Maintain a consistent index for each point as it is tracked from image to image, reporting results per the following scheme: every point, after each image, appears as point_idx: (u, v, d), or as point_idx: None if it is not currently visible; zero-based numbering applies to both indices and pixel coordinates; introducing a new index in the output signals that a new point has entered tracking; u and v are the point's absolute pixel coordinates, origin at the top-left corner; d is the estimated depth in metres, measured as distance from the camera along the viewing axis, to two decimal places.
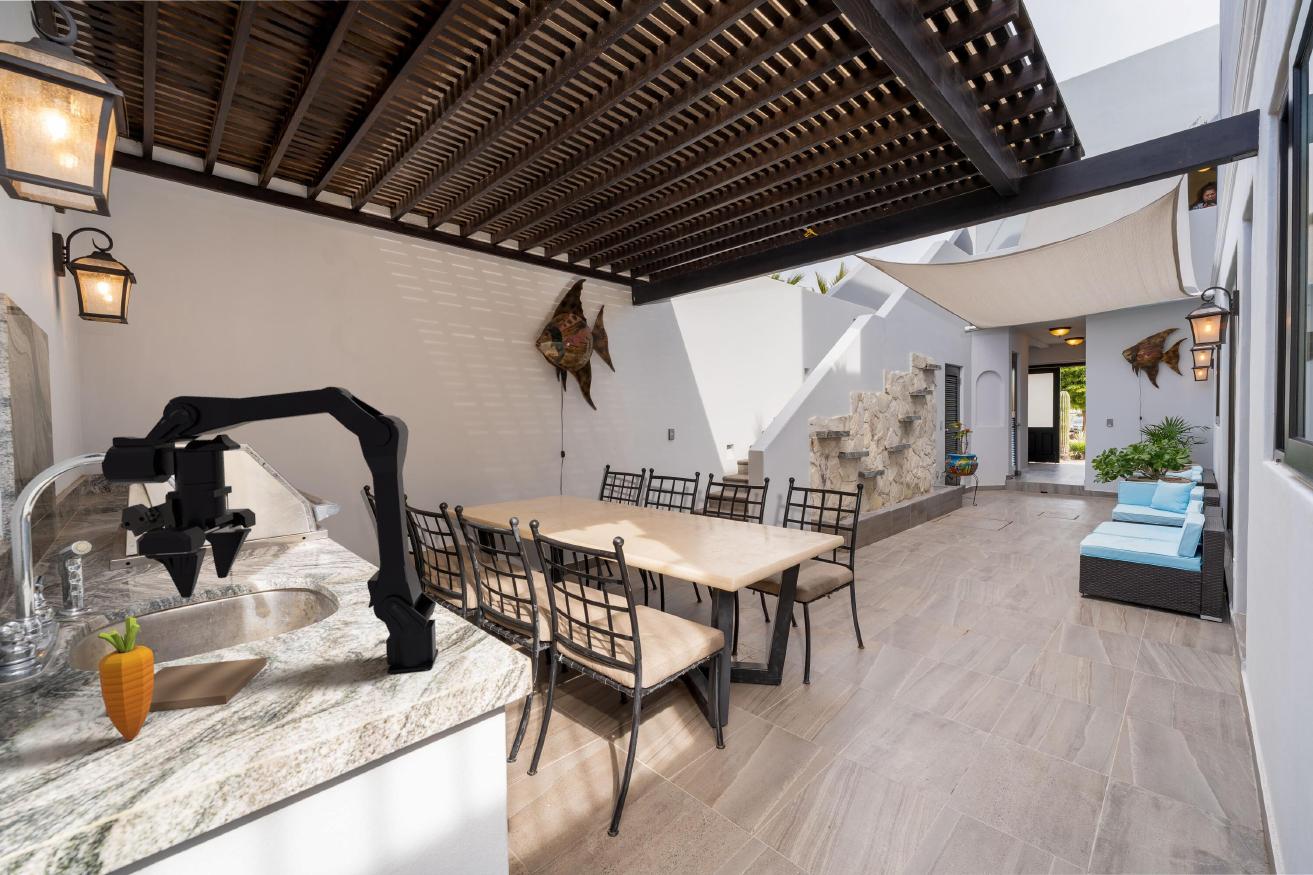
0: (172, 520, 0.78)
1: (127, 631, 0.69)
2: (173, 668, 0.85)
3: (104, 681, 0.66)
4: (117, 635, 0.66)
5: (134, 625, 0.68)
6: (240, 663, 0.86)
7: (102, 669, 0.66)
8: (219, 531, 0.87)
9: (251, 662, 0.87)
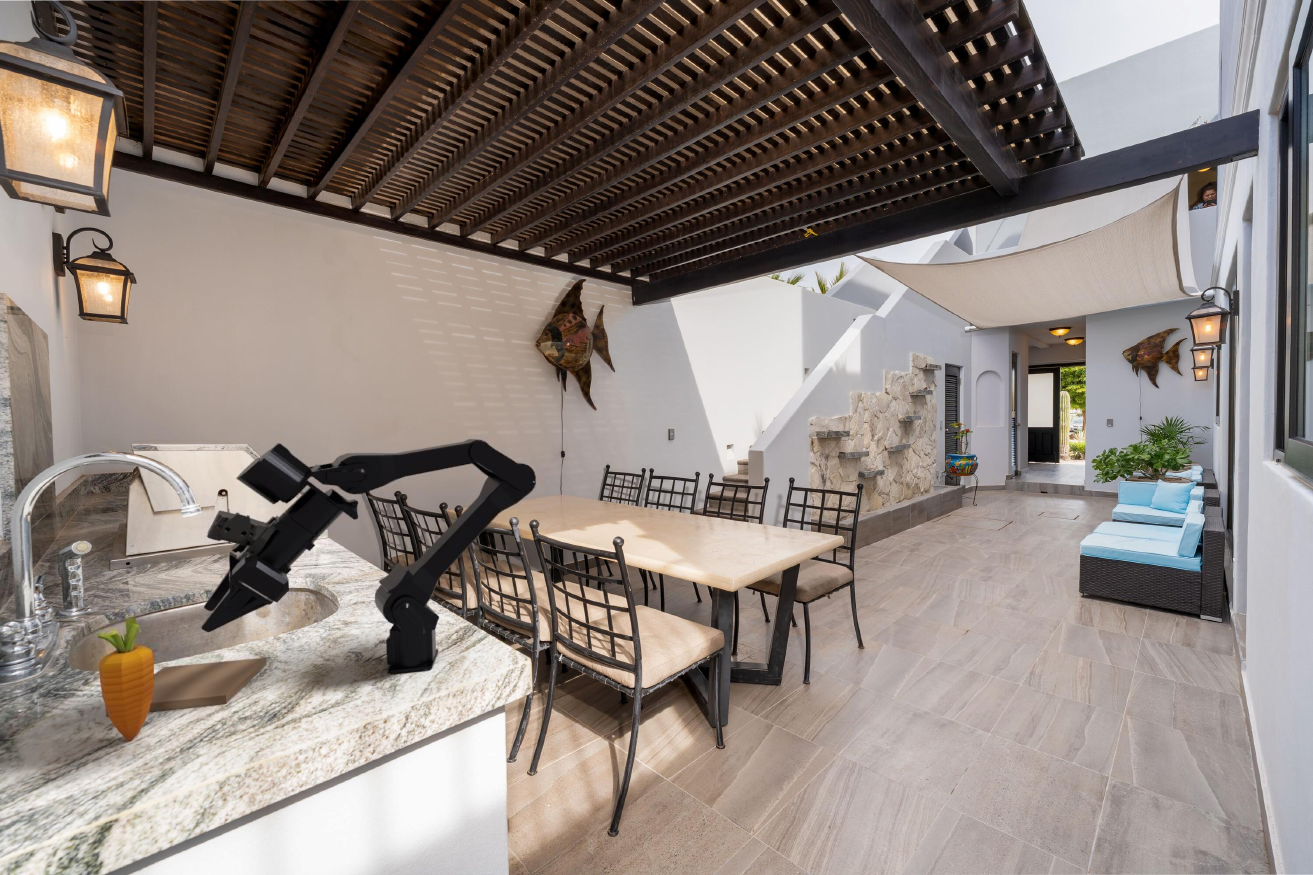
0: (259, 548, 0.74)
1: (127, 631, 0.69)
2: (173, 668, 0.85)
3: (104, 681, 0.66)
4: (117, 635, 0.66)
5: (134, 625, 0.68)
6: (240, 663, 0.86)
7: (102, 669, 0.66)
8: None
9: (251, 662, 0.87)
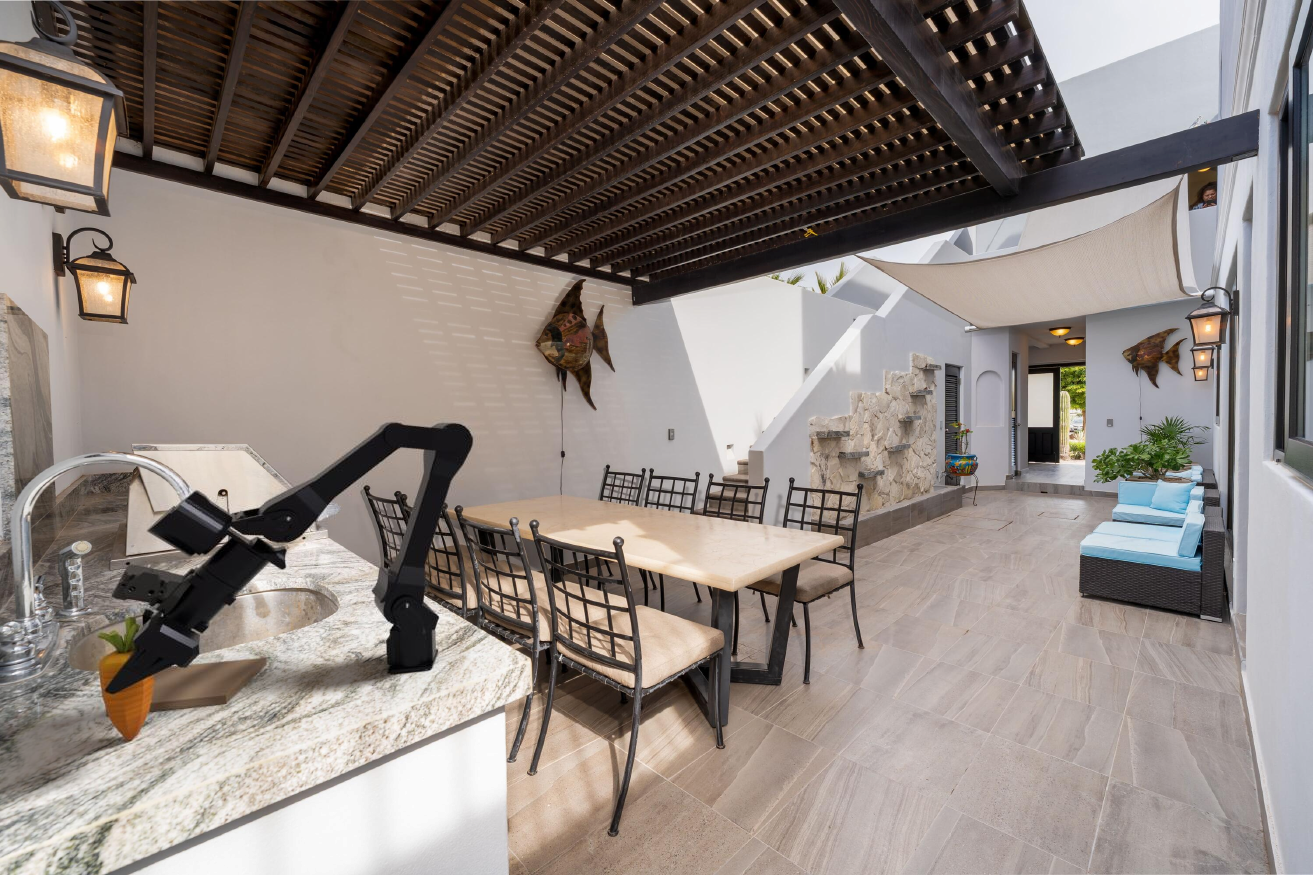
0: (171, 606, 0.68)
1: (127, 631, 0.69)
2: (173, 668, 0.85)
3: (104, 681, 0.66)
4: (117, 635, 0.66)
5: (134, 625, 0.68)
6: (240, 663, 0.86)
7: (102, 669, 0.66)
8: None
9: (251, 662, 0.87)
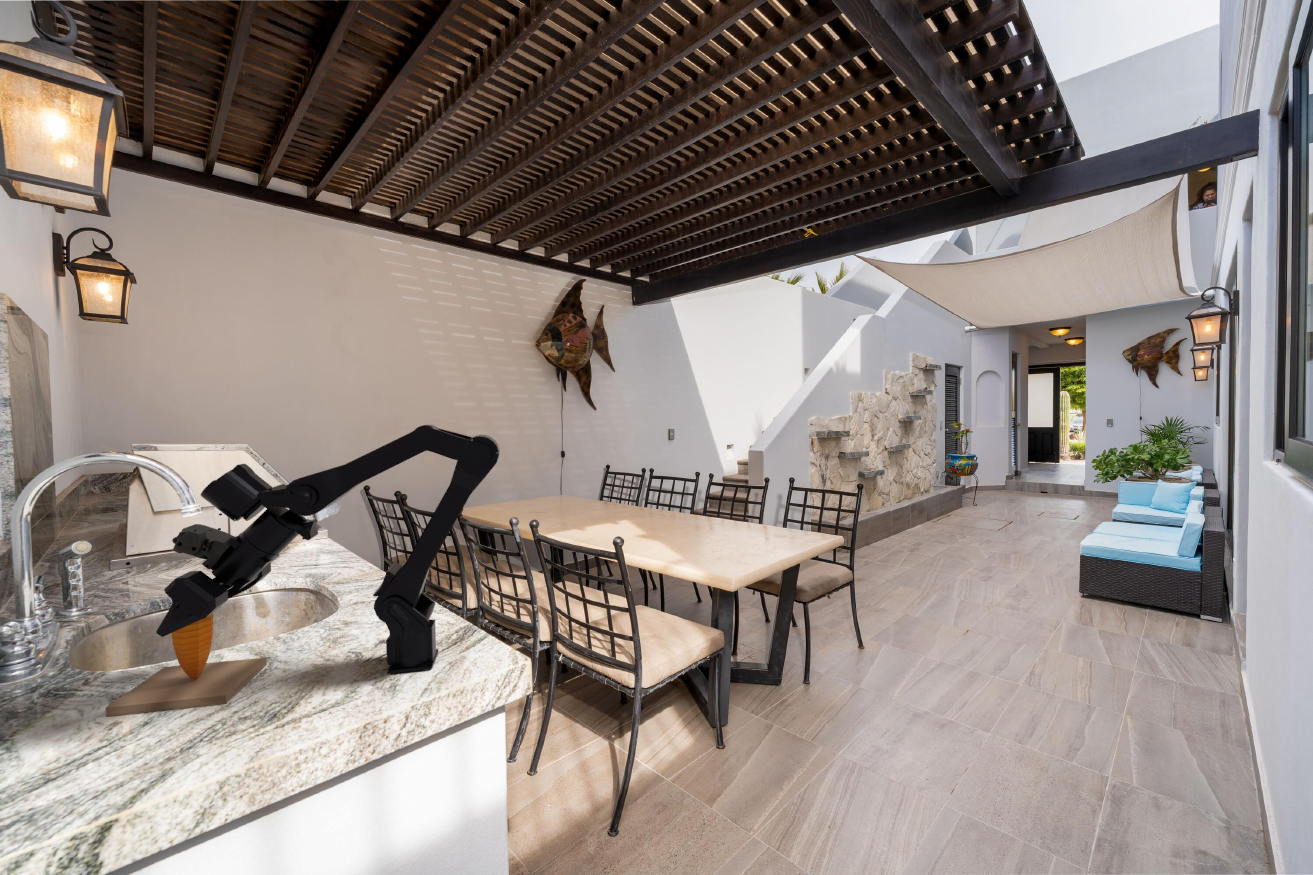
0: (213, 562, 0.79)
1: None
2: (173, 668, 0.85)
3: None
4: None
5: None
6: (240, 663, 0.86)
7: None
8: None
9: (251, 662, 0.87)
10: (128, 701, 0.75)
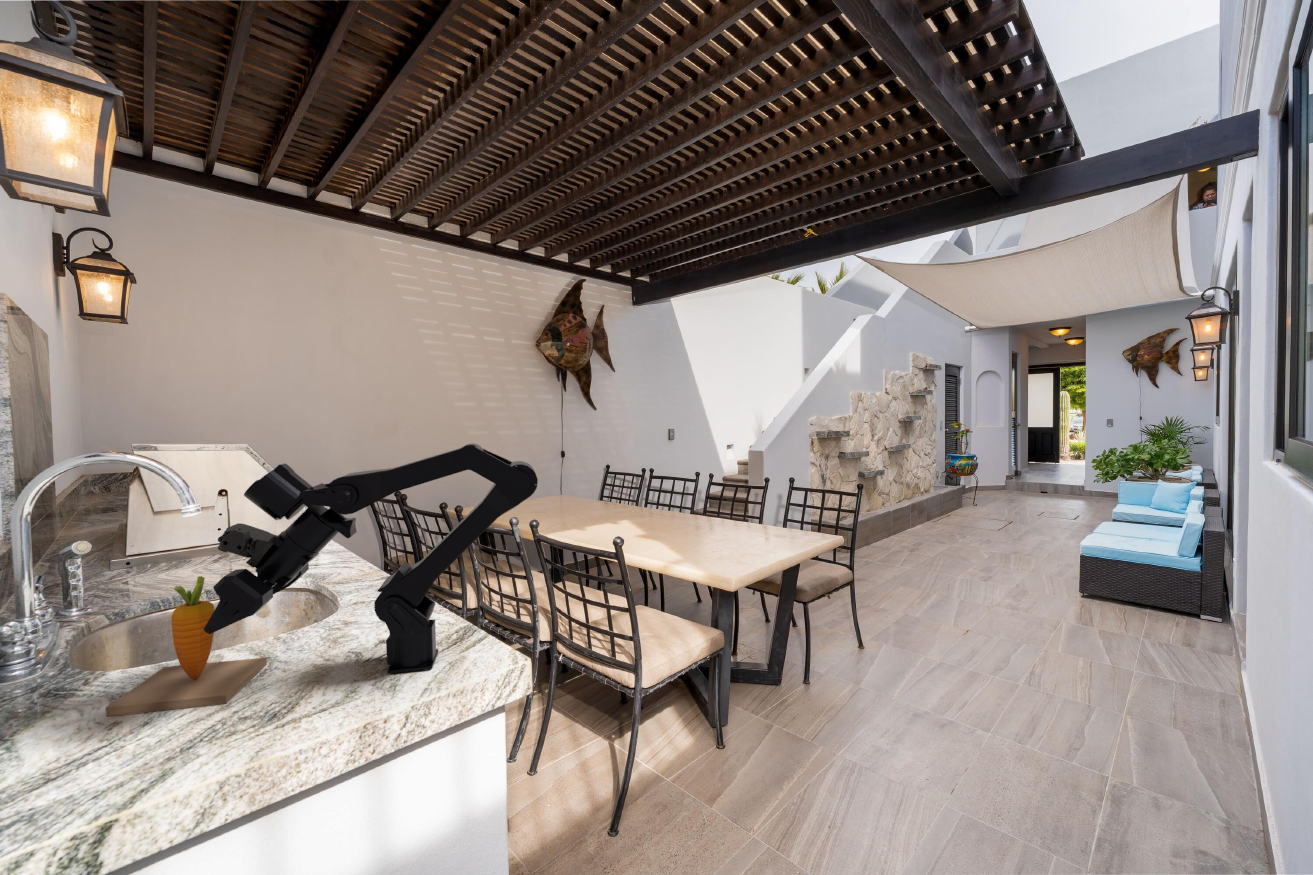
0: (257, 561, 0.80)
1: None
2: (173, 668, 0.85)
3: (172, 627, 0.79)
4: (181, 590, 0.79)
5: (198, 583, 0.81)
6: (240, 663, 0.86)
7: (172, 617, 0.79)
8: None
9: (251, 662, 0.87)
10: (128, 701, 0.75)
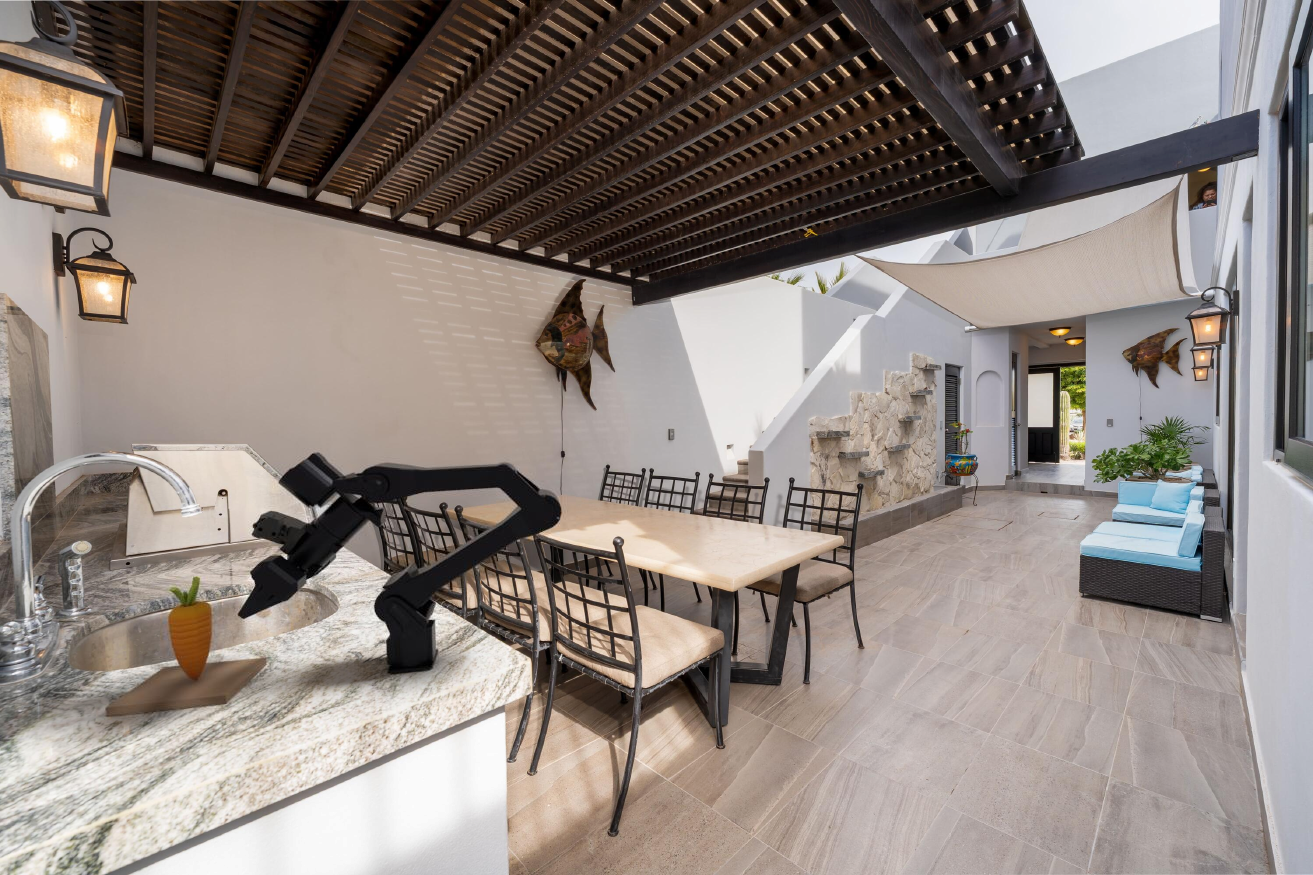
0: (290, 547, 0.81)
1: None
2: (173, 668, 0.85)
3: (169, 628, 0.79)
4: (177, 591, 0.79)
5: (193, 584, 0.80)
6: (240, 663, 0.86)
7: None
8: None
9: (251, 662, 0.87)
10: (128, 701, 0.75)
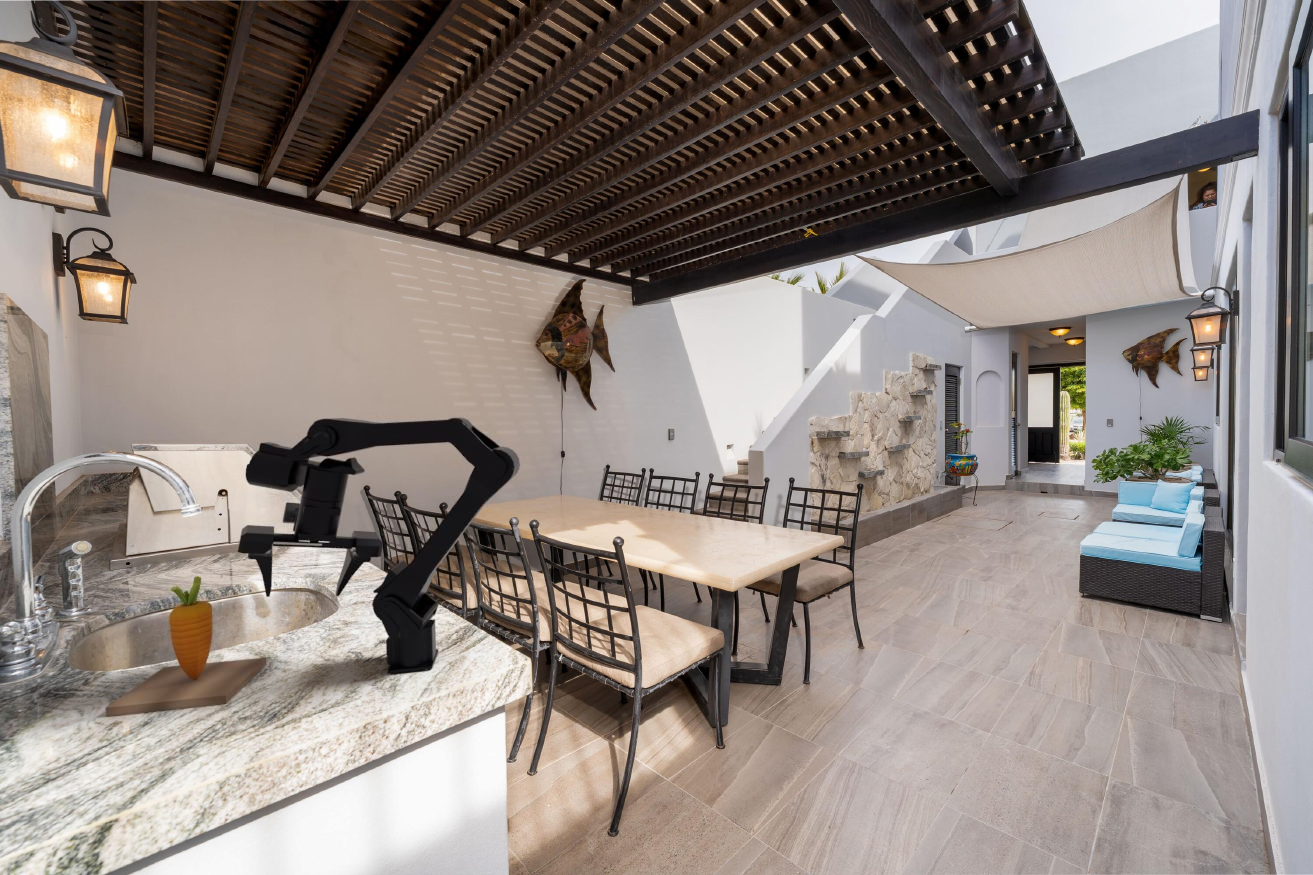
0: (294, 524, 0.86)
1: None
2: (173, 668, 0.85)
3: (170, 627, 0.79)
4: (178, 590, 0.79)
5: (195, 583, 0.81)
6: (240, 663, 0.86)
7: None
8: None
9: (251, 662, 0.87)
10: (128, 701, 0.75)
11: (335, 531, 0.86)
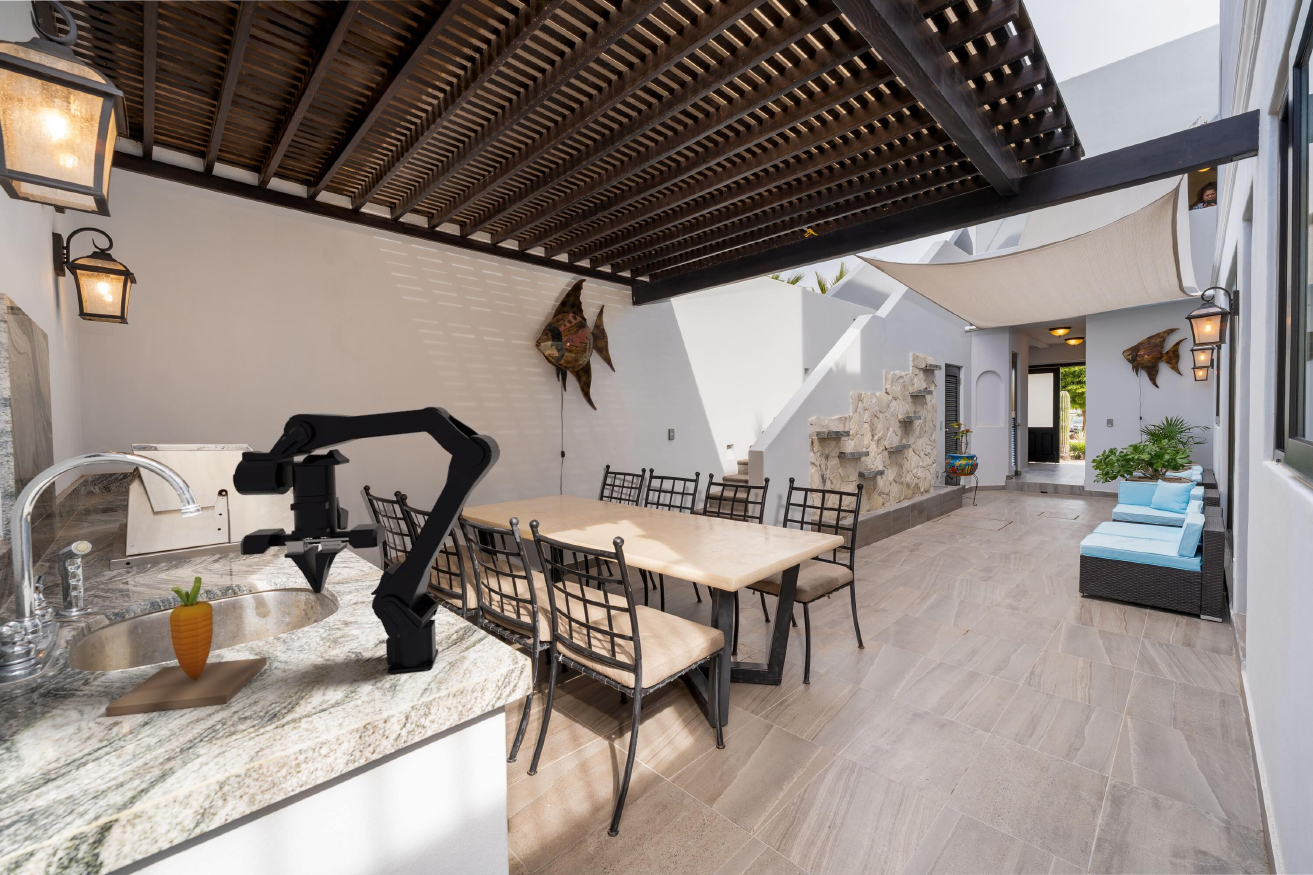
0: None
1: None
2: (173, 668, 0.85)
3: (171, 628, 0.79)
4: (178, 591, 0.79)
5: (195, 584, 0.80)
6: (240, 663, 0.86)
7: (170, 617, 0.79)
8: None
9: (251, 662, 0.87)
10: (128, 701, 0.75)
11: (329, 525, 0.86)
